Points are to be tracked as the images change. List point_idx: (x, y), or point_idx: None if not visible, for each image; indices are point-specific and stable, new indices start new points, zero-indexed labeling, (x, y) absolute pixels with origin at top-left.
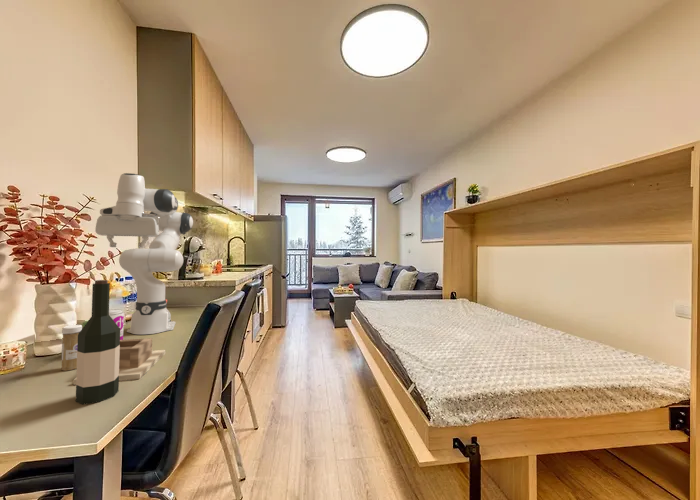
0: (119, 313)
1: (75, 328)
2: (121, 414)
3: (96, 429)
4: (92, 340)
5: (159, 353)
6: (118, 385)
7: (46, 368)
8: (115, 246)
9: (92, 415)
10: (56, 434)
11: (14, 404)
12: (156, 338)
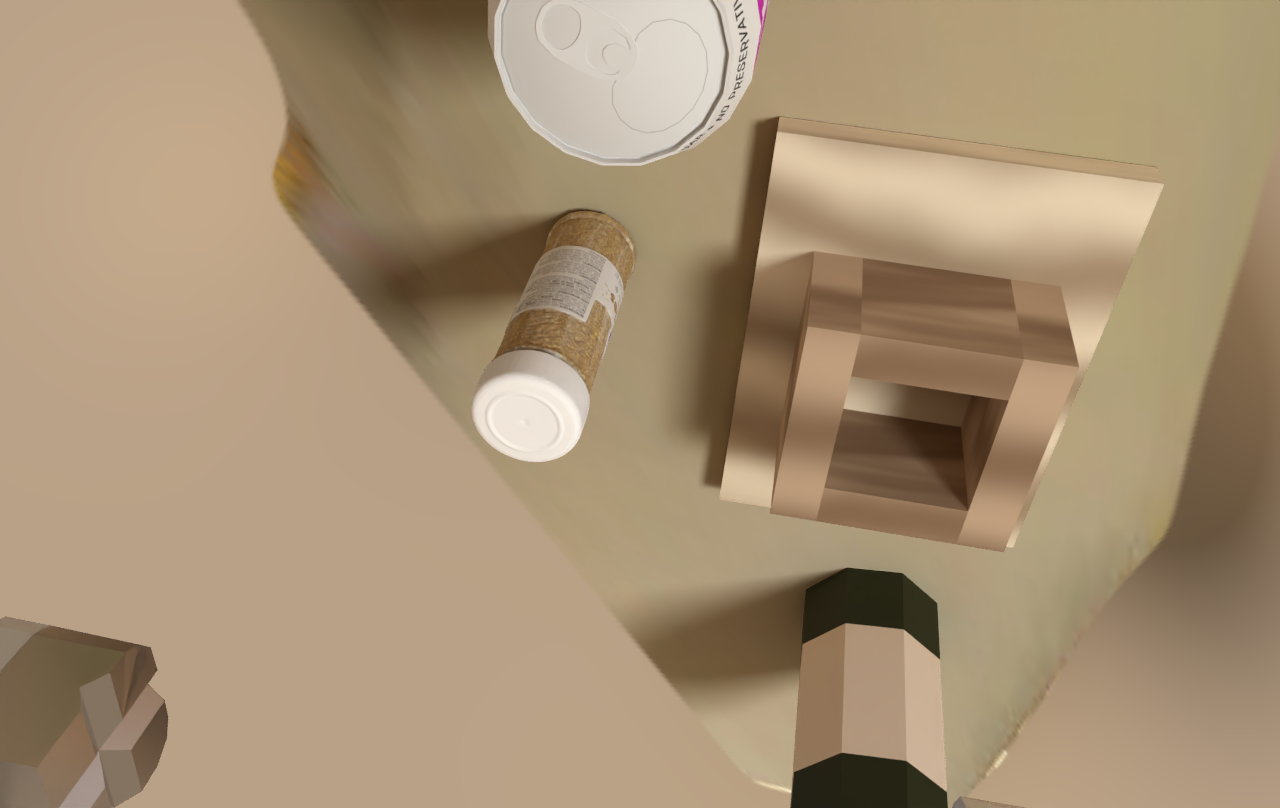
0: (729, 99)
1: (566, 451)
2: (983, 747)
3: None
4: None
5: (1115, 263)
6: (937, 623)
7: (446, 196)
8: (141, 688)
9: None
10: None
11: (596, 565)
12: None
